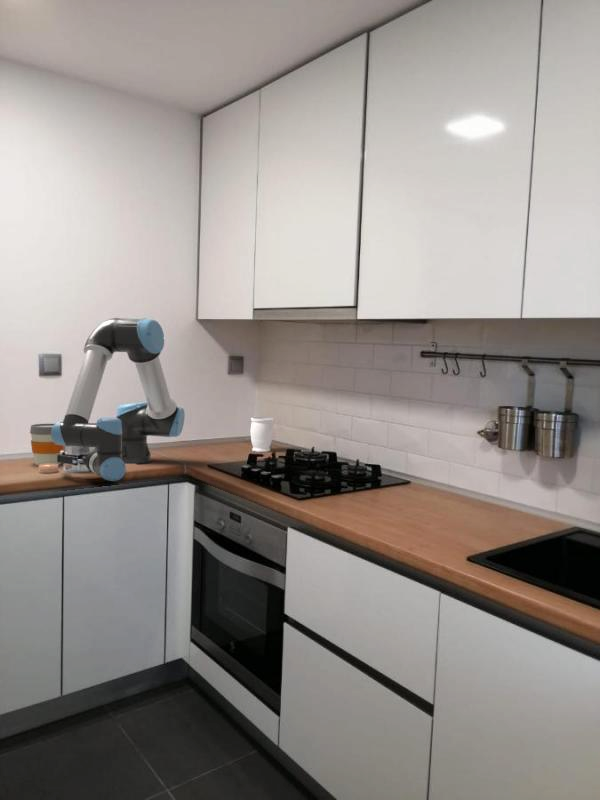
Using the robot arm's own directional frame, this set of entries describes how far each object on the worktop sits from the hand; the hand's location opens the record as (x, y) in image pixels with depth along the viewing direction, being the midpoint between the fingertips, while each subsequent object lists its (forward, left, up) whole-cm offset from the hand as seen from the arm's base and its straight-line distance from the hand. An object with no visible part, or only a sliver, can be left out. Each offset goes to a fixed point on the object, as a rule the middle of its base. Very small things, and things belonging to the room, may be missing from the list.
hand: (80, 453), depth 226 cm
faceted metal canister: (-1, -3, -6) cm, 7 cm away
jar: (-86, -17, -7) cm, 88 cm away
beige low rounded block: (+10, -3, -7) cm, 13 cm away
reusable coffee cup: (+7, -19, -7) cm, 21 cm away
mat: (-1, -3, -7) cm, 8 cm away
